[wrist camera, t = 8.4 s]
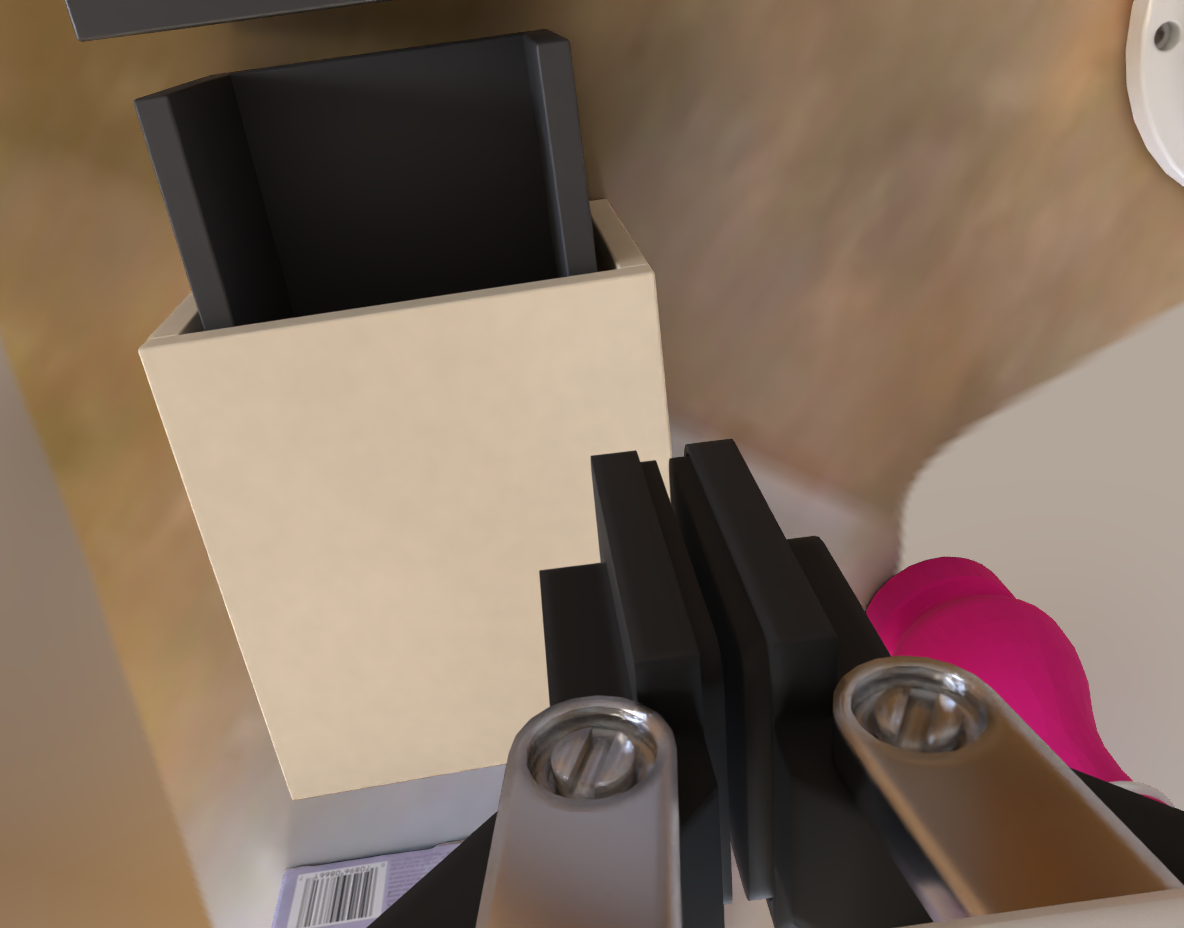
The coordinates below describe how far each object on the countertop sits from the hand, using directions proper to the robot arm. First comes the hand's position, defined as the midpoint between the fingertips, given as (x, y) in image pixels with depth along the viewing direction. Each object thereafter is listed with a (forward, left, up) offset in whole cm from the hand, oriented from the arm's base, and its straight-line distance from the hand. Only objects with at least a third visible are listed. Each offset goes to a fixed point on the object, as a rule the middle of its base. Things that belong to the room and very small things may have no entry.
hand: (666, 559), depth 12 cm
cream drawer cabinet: (+4, +8, -23) cm, 25 cm away
